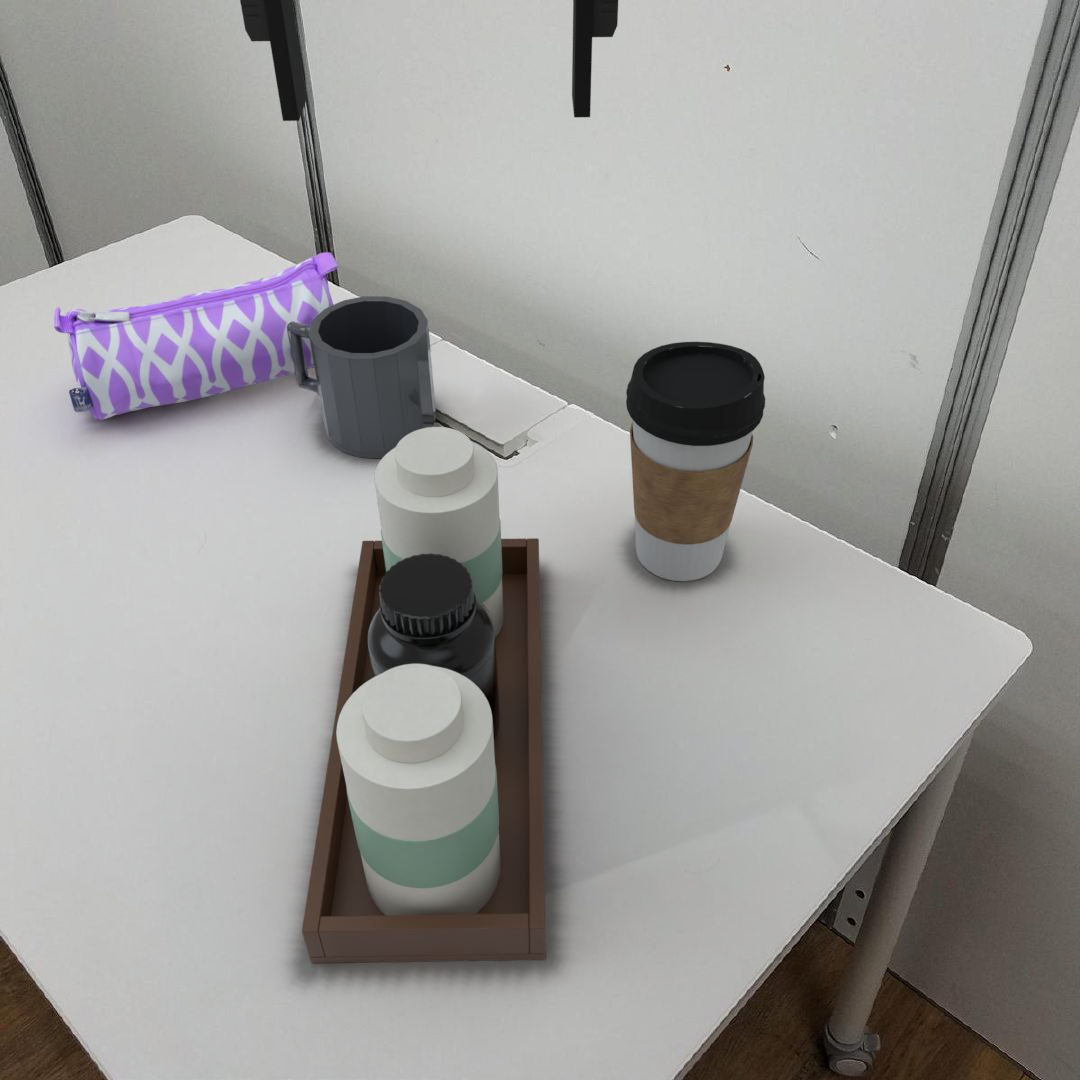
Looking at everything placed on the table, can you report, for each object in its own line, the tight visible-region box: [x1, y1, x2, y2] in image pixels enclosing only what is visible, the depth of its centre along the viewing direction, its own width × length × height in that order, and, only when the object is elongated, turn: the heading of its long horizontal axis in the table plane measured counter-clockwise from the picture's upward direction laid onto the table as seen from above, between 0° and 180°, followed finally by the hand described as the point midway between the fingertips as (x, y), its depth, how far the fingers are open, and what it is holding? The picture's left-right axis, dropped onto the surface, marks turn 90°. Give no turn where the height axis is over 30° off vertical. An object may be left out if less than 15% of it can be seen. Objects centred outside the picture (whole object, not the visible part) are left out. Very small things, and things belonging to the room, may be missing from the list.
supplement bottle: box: [368, 553, 500, 741], centre depth 61 cm, size 7×7×12 cm
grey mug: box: [287, 295, 437, 459], centre depth 85 cm, size 12×9×9 cm
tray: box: [301, 537, 547, 964], centre depth 64 cm, size 12×28×3 cm, turn 1°
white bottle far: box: [373, 426, 504, 636], centre depth 67 cm, size 7×7×14 cm
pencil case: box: [53, 251, 339, 421], centre depth 89 cm, size 22×9×10 cm, turn 115°
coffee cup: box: [625, 341, 766, 582], centre depth 72 cm, size 8×8×15 cm
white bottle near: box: [336, 664, 501, 915], centre depth 54 cm, size 7×7×14 cm
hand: (438, 108), depth 53 cm, fingers open, 13 cm apart
